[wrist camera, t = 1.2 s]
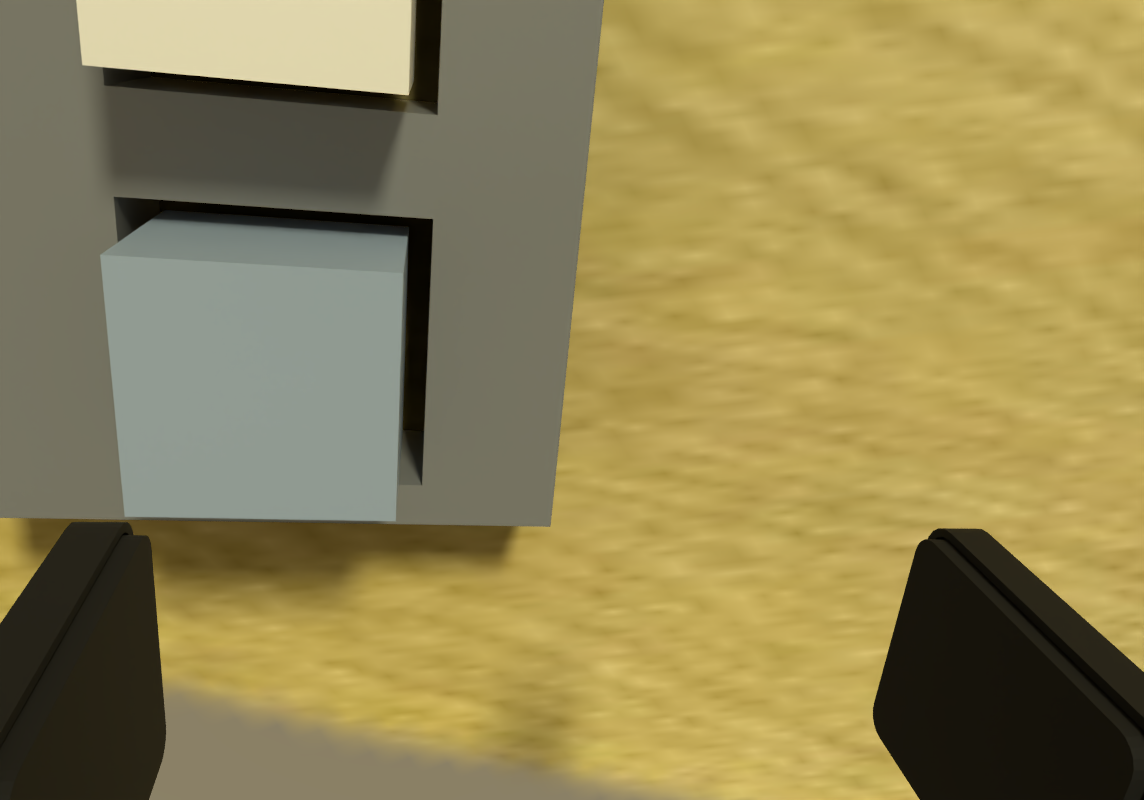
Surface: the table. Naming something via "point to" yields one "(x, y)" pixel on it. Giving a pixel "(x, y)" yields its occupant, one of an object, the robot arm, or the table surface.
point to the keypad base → (305, 182)
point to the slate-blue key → (258, 366)
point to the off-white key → (257, 40)
